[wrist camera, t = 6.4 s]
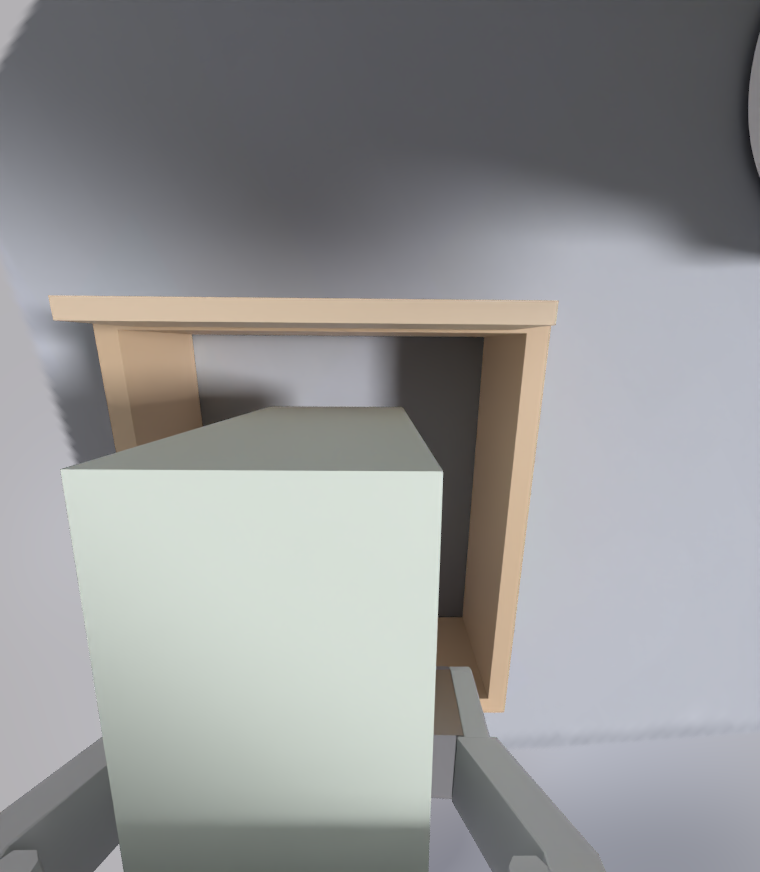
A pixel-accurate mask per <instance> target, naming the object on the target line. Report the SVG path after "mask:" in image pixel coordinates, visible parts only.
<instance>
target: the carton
mask: <svg viewBox="0 0 760 872" xmlns="http://www.w3.org/2000/svg"><path fill="white" fill-rule="evenodd" d="M48 297H49V302H50V306H51V311H52V316H53V320H55V321H68V322H80V323H92V324H93V329H94V334H95V340H96V345H97V351H98V356H99V362H100V367H101V373H102V378H103V384H104V389H105V394H106V400H107V405H108V411H109V416H110V422H111V427H112V433H113V438H114V444H115V449H116V452H120V451H123V450H126V449H130V448H133V447H137V446H140V445H143V444H147V443H150V442H153V441H157V440H160V439H163V438H167V437H170V436H173V435H177V434H180V433H183V432H187V431H190V430H193V429H197V428H200V427H203V425H202V417H201V408H200V400H199V391H198V383H197V374H196V366H195V357H194V349H193V340H192V334H200V335H313V336H425V337H484V346H483V359H482V372H481V385H480V398H479V410H478V423H477V436H476V449H475V462H474V475H473V488H472V501H471V513H470V526H469V539H468V552H467V565H466V578H465V591H464V604H463V616H462V617H438V626H437V653H436V666H448V667H469V668H470V669H471V670H472V674H473V677H474V681H475V685H476V688H477V692H478V696H479V699H480V703H481V706H482V710H483V712H504V709H505V701H506V692H507V684H508V676H509V668H510V659H511V651H512V643H513V635H514V626H515V618H516V610H517V602H518V594H519V585H520V577H521V569H522V561H523V552H524V544H525V536H526V528H527V519H528V511H529V503H530V495H531V486H532V478H533V470H534V462H535V454H536V445H537V437H538V429H539V421H540V412H541V404H542V396H543V388H544V379H545V371H546V363H547V355H548V346H549V338H550V330H551V326H552V325H556V318H557V310H558V302H559V301H548V300H448V299H349V298H249V297H149V296H50V295H48Z"/></svg>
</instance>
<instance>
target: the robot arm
mask: <svg viewBox="0 0 760 872" xmlns="http://www.w3.org/2000/svg"><path fill="white" fill-rule="evenodd" d="M748 120H749V133H750V141H751V147H752V152H753V157H754V161H755V164H756V168H757V171H758V174H759V176H760V34H759V37H758V41H757V45H756V49H755V53H754V59H753V64H752V69H751V77H750V85H749V99H748ZM431 798H442V799H452V802H453V804H454V806H455V808H456V809H457V811H458V813H459V814H460V816H461V818H462V820H463V821H464V823H465V825H466V827H467V828H468V830H469V832H470V834H471V835H472V837H473V839H474V841H475V842H476V844H477V846H478V848H479V849H480V851H481V853H482V855H483V856H484V858H485V860H486V861H487V863H488V865H489V867H490V868H491V870H492V872H606V871H605V869H604V866H603V864H602V861H601V859H600V857H599V854H598V853H597V852H596V851H595V850H594V849H593V847H592V846H591V845H590V844H589V843H588V842H587V841H586V839H585V838H584V837H583V836H582V835H581V834H580V832H579V831H578V830H577V829H576V828H575V827H574V826H573V825H572V823H571V822H570V821H569V820H568V819H567V818H566V816H565V815H564V814H563V813H562V812H561V811H560V810H559V808H558V807H557V806H556V805H555V804H554V803H553V802H552V800H551V799H550V798H549V797H548V796H547V795H546V794H545V792H544V791H543V790H542V789H541V788H540V787H539V786H538V784H536V782H535V781H534V780H533V779H532V778H531V776H530V775H529V774H528V773H527V772H526V771H525V769H524V768H523V767H522V766H521V765H520V764H519V763H518V761H517V760H516V759H515V758H514V757H513V756H512V755H511V753H510V752H509V751H508V750H507V749H506V748H505V746H504V745H503V744H502V743H501V742H500V741H499V740H498V738H497V737H490V735H489V732H488V728H487V725H486V721H485V717H484V714H483V710H482V706H481V703H480V699H479V696H478V692H477V688H476V685H475V681H474V677H473V674H472V670H471V669H470V668H469V667H448V666H436V679H435V706H434V733H433V760H432V787H431ZM118 844H119V838H118V832H117V826H116V819H115V813H114V807H113V800H112V794H111V788H110V781H109V775H108V769H107V762H106V756H105V750H104V743H103V737H101V738H100V739H98V740H97V741H96V742H94V743H93V744H92V745H90V746H89V747H88V748H86V749H85V750H84V751H82V752H81V753H80V754H78V755H77V756H76V757H74V758H73V759H72V760H70V761H69V762H67V763H66V764H65V765H63V766H62V767H61V768H60V769H58V770H57V771H55V772H54V773H53V774H51V775H50V776H49V777H47V778H46V779H45V780H43V781H42V782H41V783H39V784H38V785H37V786H35V787H34V788H33V789H31V790H30V791H29V792H27V793H26V794H25V795H23V796H22V797H20V798H19V799H18V800H16V801H15V802H14V803H12V804H11V805H10V806H8V807H7V808H6V809H4V810H3V811H2V812H0V872H94V871H95V870H96V868H97V867H98V866H99V865H100V864H101V863H102V862H103V861H104V860H105V859H106V857H107V856H108V855H109V854H110V853H111V852H112V851H113V850H114V849H115V847H116V846H117V845H118Z"/></svg>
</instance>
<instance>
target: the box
mask: <svg viewBox="0 0 760 872" xmlns="http://www.w3.org/2000/svg"><path fill="white" fill-rule="evenodd" d="M60 472H61V478H62V484H63V490H64V497H65V503H66V510H67V516H68V522H69V529H70V534H71V541H72V547H73V554H74V560H75V566H76V573H77V579H78V585H79V592H80V598H81V604H82V611H83V617H84V623H85V630H86V636H87V641H88V649H89V655H90V661H91V668H92V674H93V680H94V687H95V693H96V699H97V705H98V712H99V718H100V724H101V731H102V737H103V743H104V750H105V756H106V762H107V769H108V775H109V781H110V788H111V794H112V800H113V807H114V813H115V819H116V826H117V832H118V838H119V845H120V851H121V857H122V864H123V869H124V872H428V866H429V840H430V813H431V787H432V760H433V733H434V706H435V679H436V653H437V626H438V599H439V572H440V545H441V518H442V492H443V470H442V469H441V467H440V466H439V464H438V462H437V461H436V459H435V458H434V456H433V454H432V453H431V451H430V450H429V448H428V447H427V445H426V443H425V442H424V440H423V439H422V437H421V435H420V434H419V432H418V431H417V429H416V428H415V426H414V424H413V423H412V421H411V420H410V418H409V416H408V415H407V413H406V412H405V410H404V409H403V407H279V406H270V407H267V408H263V409H260V410H257V411H253V412H250V413H247V414H243V415H240V416H237V417H233V418H230V419H227V420H223V421H220V422H217V423H213V424H210V425H207V426H203V427H200V428H197V429H193V430H190V431H187V432H183V433H180V434H177V435H173V436H170V437H167V438H163V439H160V440H157V441H153V442H150V443H147V444H143V445H140V446H137V447H133V448H130V449H126V450H123V451H120V452H116V453H113V454H110V455H106V456H103V457H100V458H96V459H93V460H90V461H86V462H83V463H80V464H76V465H73V466H70V467H66V468H63V469H60Z"/></svg>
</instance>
